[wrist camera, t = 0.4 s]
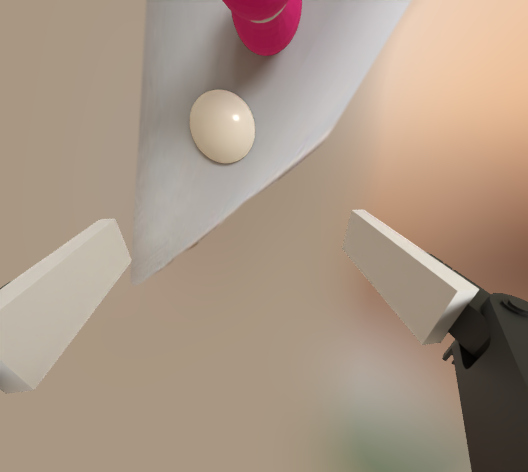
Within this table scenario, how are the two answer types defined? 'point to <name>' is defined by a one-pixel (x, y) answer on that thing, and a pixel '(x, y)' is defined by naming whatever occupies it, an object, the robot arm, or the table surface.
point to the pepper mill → (265, 23)
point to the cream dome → (222, 126)
